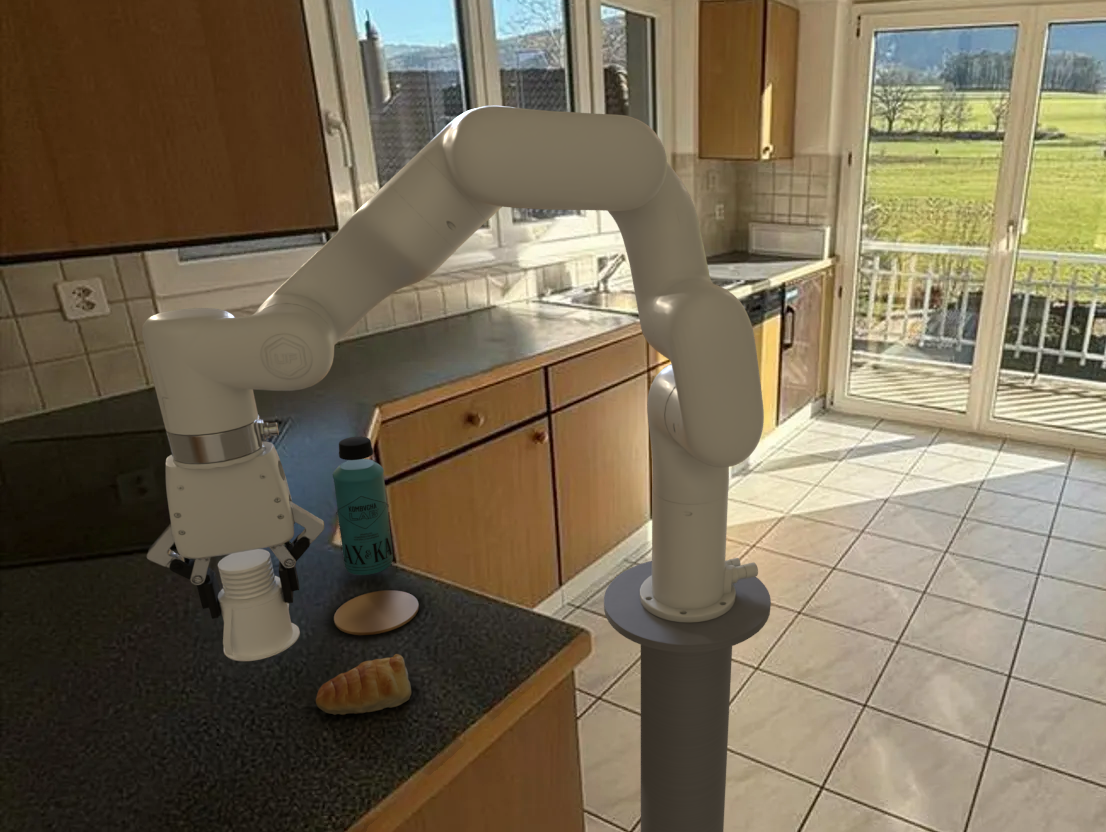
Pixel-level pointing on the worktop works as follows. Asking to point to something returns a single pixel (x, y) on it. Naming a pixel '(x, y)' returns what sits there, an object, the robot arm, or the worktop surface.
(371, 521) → the beverage bottle
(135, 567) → the worktop surface
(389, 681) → the pastry
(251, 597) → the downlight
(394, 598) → the cork coaster
